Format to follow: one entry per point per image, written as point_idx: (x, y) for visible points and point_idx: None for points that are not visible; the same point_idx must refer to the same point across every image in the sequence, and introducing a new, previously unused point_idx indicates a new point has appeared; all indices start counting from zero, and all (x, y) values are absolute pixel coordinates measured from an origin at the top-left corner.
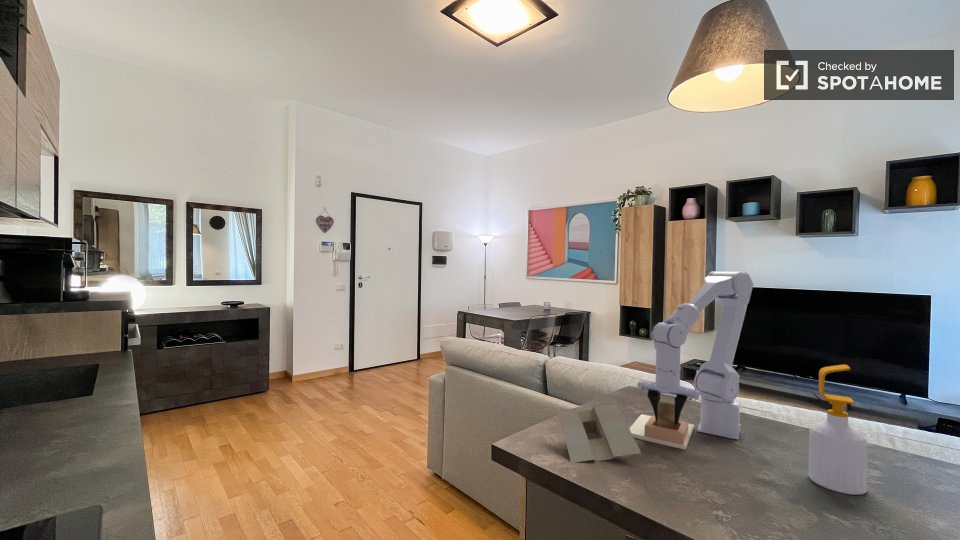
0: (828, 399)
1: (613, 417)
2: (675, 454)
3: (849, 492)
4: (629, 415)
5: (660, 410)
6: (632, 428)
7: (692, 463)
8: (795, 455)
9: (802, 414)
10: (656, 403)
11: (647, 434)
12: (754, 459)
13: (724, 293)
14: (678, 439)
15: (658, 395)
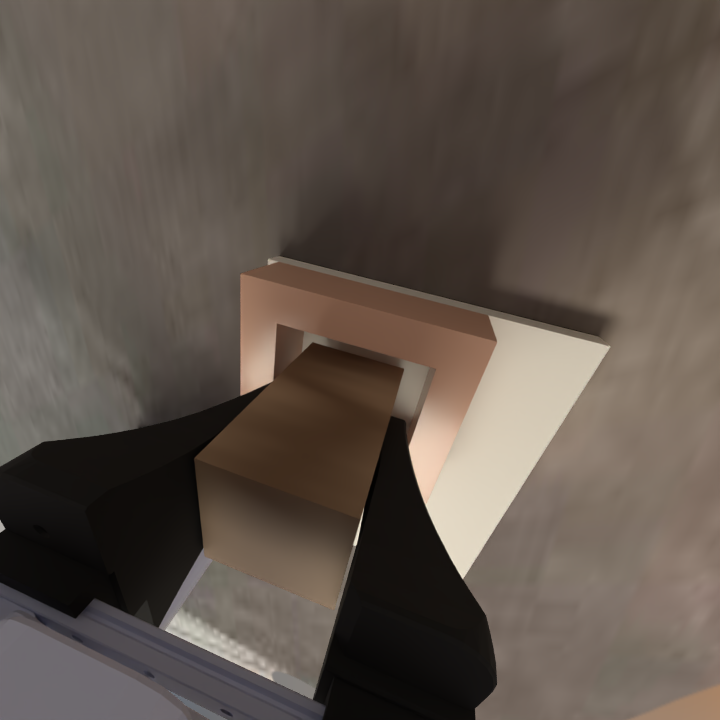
0: None
1: None
2: (323, 155)
3: None
4: (511, 586)
5: (352, 449)
6: (546, 417)
7: (234, 48)
8: (2, 357)
9: None
10: (375, 514)
11: (470, 314)
12: (59, 270)
13: None
14: (290, 271)
15: (330, 641)
